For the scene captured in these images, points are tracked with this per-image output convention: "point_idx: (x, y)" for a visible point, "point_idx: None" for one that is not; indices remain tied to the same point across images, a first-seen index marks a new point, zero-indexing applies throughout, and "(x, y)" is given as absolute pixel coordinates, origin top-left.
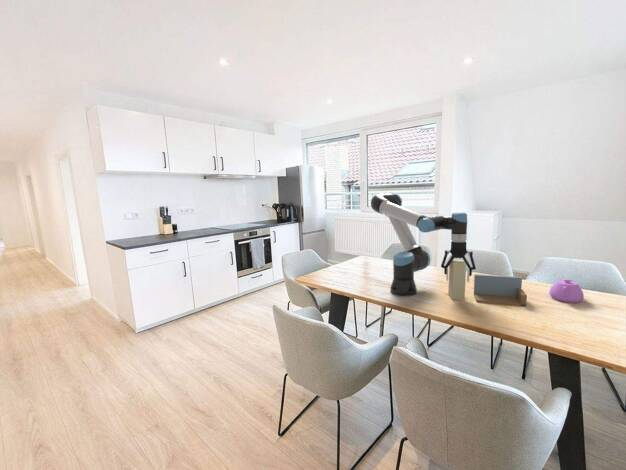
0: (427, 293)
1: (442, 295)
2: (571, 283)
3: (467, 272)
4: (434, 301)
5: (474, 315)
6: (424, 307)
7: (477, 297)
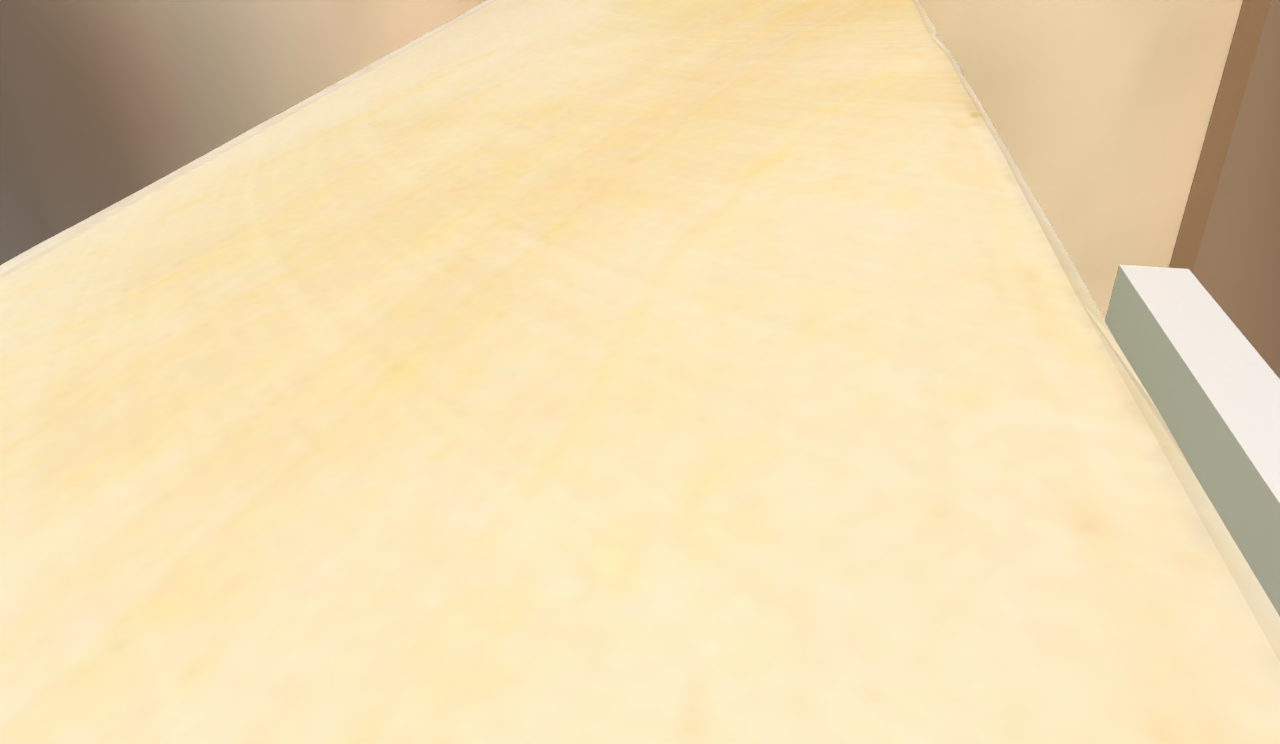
0: (61, 5)
1: None
2: None
3: (1264, 564)
4: None
5: None
6: None
7: (1257, 222)
